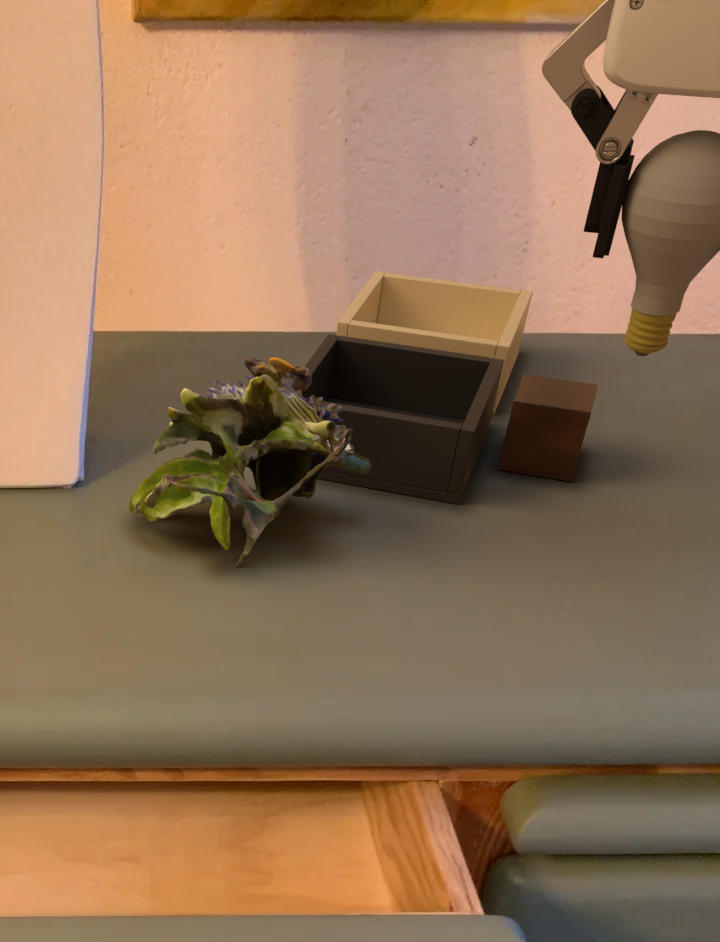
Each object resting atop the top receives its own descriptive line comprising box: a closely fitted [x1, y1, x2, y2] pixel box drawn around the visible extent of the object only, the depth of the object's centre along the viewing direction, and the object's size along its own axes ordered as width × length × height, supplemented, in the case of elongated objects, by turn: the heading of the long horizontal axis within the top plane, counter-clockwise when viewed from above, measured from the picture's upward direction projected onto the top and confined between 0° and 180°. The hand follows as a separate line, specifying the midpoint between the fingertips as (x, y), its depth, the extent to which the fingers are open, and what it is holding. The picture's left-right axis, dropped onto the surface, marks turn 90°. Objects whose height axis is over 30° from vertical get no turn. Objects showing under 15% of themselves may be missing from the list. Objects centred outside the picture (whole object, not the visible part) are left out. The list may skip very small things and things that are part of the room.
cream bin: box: [335, 270, 533, 415], centre depth 83 cm, size 12×12×5 cm
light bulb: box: [621, 129, 720, 357], centre depth 55 cm, size 6×6×10 cm
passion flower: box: [128, 357, 371, 567], centre depth 64 cm, size 11×11×12 cm
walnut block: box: [497, 373, 599, 483], centre depth 72 cm, size 4×4×4 cm
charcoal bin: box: [301, 333, 504, 505], centre depth 73 cm, size 12×12×5 cm
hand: (670, 252), depth 55 cm, fingers closed on light bulb, 5 cm apart
